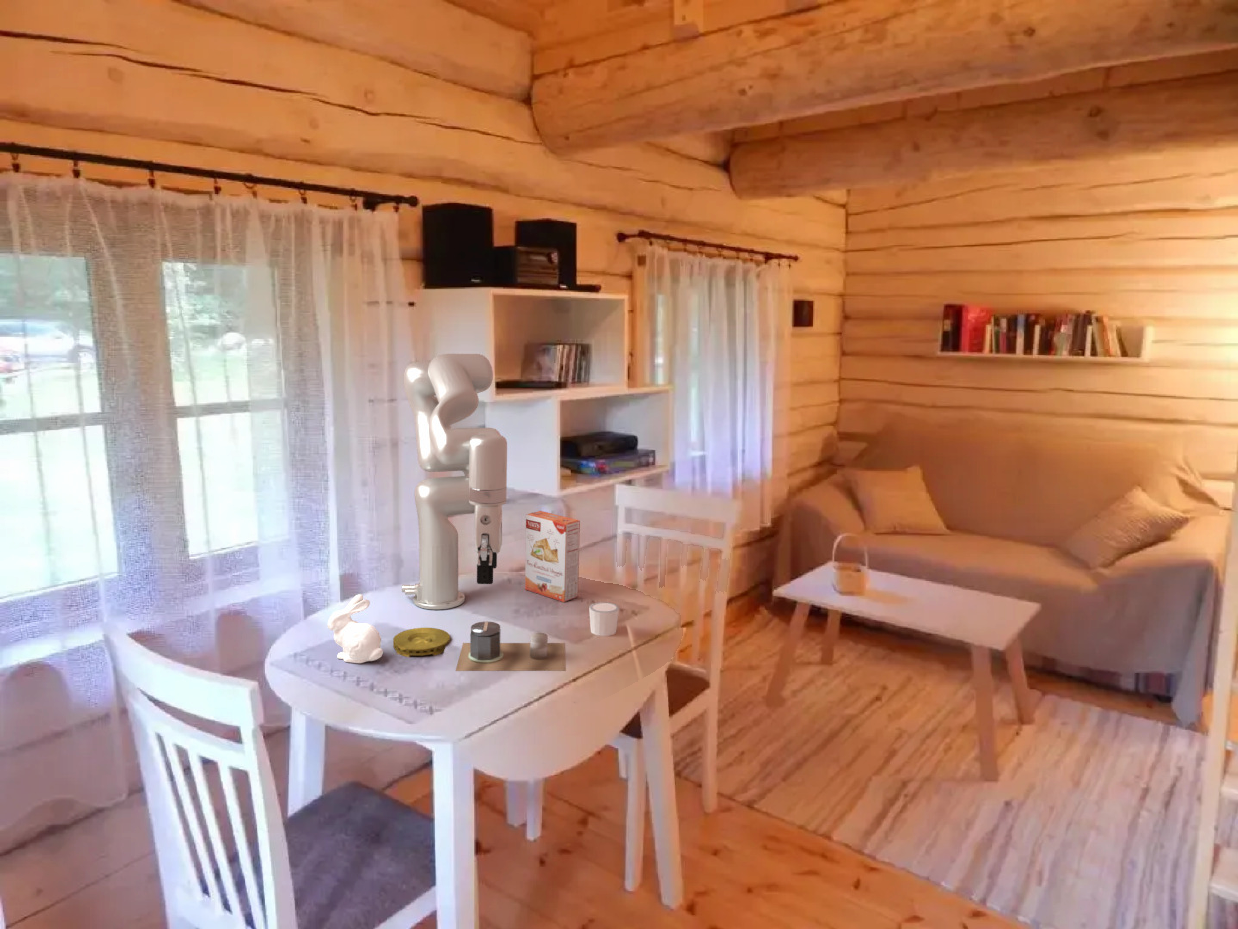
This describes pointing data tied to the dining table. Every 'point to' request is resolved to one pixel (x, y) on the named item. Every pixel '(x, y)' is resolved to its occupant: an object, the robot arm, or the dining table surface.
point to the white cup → (603, 618)
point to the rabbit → (355, 634)
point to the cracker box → (552, 555)
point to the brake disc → (421, 641)
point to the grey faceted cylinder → (485, 640)
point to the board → (518, 657)
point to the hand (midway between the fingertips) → (487, 575)
